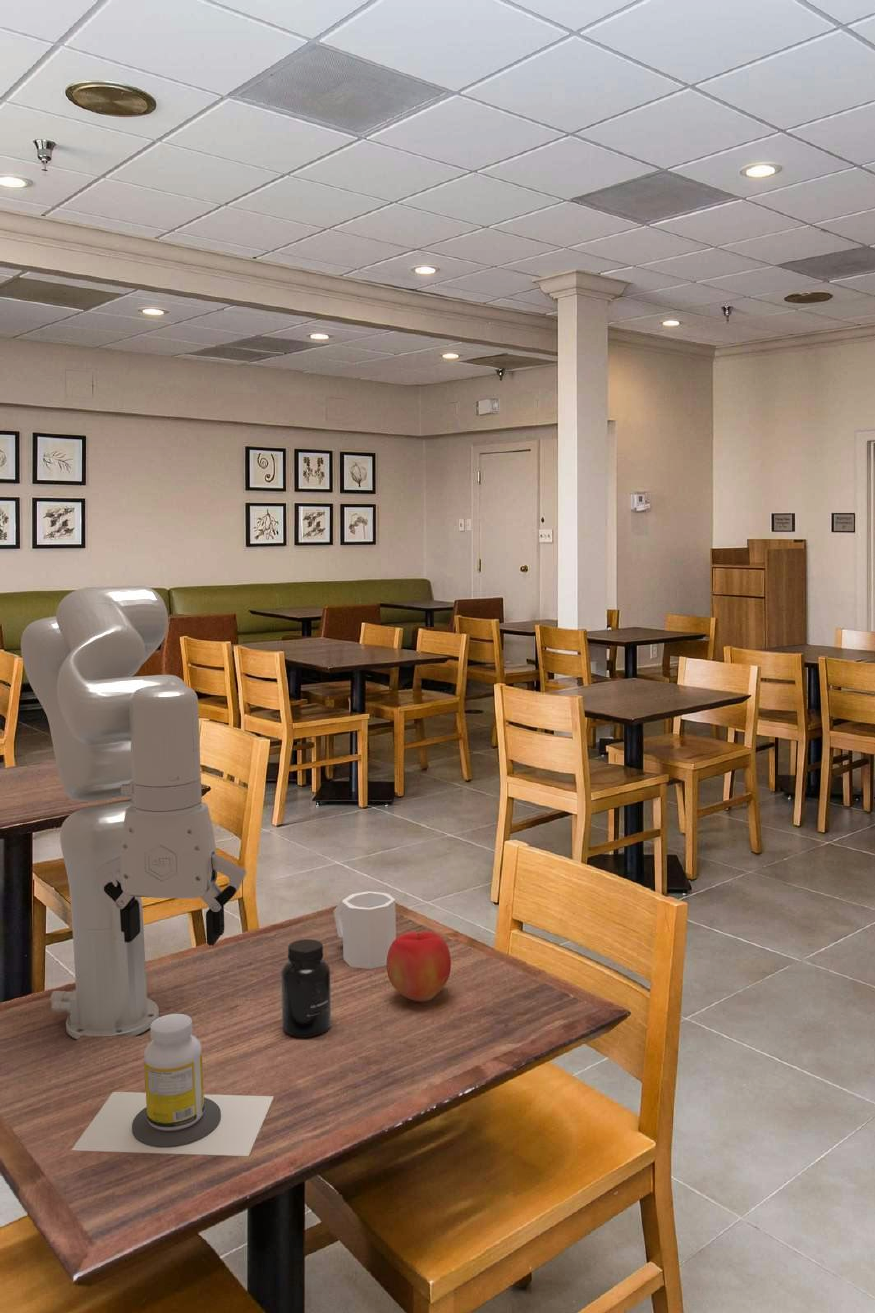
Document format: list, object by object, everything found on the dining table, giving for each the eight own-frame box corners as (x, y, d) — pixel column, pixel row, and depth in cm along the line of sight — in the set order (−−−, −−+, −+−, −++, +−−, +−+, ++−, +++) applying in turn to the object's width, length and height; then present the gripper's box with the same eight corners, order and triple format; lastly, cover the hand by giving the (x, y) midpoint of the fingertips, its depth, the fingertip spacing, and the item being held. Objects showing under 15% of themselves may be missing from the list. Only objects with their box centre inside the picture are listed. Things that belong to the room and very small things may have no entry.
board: (71, 1160, 114) (71, 1150, 113) (113, 1100, 125) (113, 1091, 125) (248, 1166, 112) (248, 1155, 112) (274, 1105, 124) (273, 1096, 124)
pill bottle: (182, 1096, 123) (177, 1004, 122) (216, 1115, 119) (212, 1019, 118) (135, 1120, 118) (130, 1024, 117) (169, 1140, 114) (164, 1041, 113)
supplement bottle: (322, 1041, 140) (320, 956, 138) (275, 1036, 141) (272, 953, 140) (337, 1017, 146) (335, 937, 145) (292, 1014, 148) (289, 934, 146)
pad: (118, 1146, 114) (118, 1142, 114) (150, 1097, 124) (149, 1094, 124) (206, 1148, 113) (206, 1145, 113) (231, 1099, 123) (231, 1096, 123)
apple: (461, 1005, 150) (461, 939, 149) (400, 1017, 146) (399, 950, 145) (437, 979, 159) (436, 917, 158) (379, 990, 155) (378, 926, 154)
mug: (406, 956, 167) (405, 898, 166) (368, 973, 161) (367, 913, 160) (355, 938, 175) (353, 883, 174) (317, 954, 169) (315, 896, 168)
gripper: (79, 802, 113) (86, 950, 115) (232, 805, 111) (237, 955, 113) (106, 784, 120) (113, 924, 122) (251, 787, 119) (255, 928, 121)
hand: (173, 939), depth 118 cm, fingers open, 9 cm apart
